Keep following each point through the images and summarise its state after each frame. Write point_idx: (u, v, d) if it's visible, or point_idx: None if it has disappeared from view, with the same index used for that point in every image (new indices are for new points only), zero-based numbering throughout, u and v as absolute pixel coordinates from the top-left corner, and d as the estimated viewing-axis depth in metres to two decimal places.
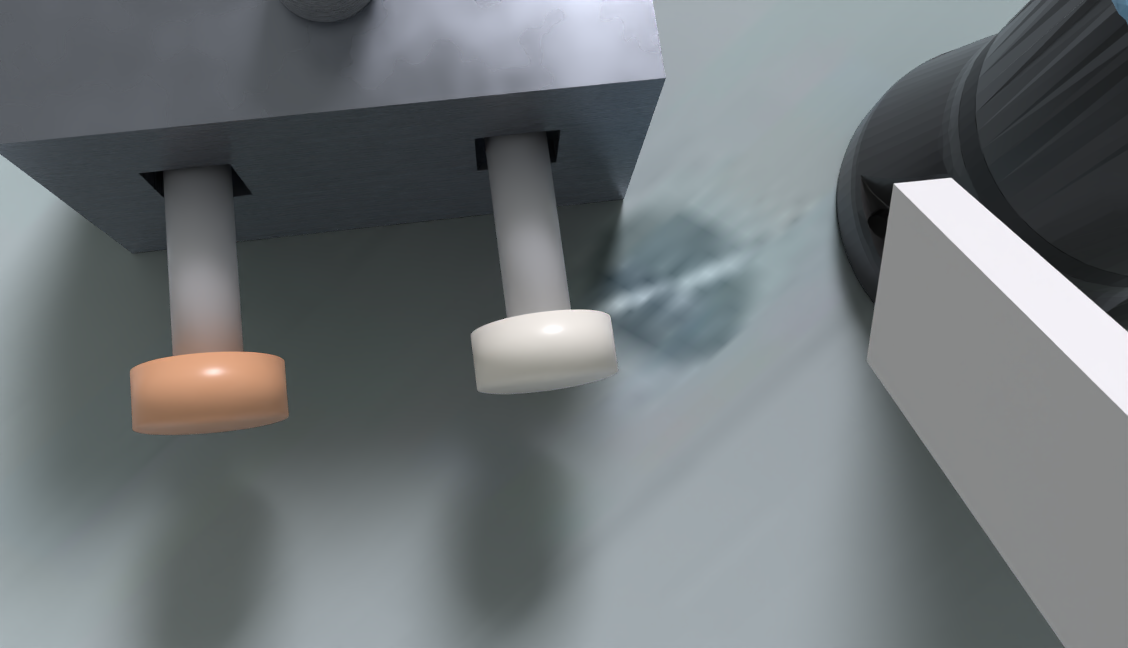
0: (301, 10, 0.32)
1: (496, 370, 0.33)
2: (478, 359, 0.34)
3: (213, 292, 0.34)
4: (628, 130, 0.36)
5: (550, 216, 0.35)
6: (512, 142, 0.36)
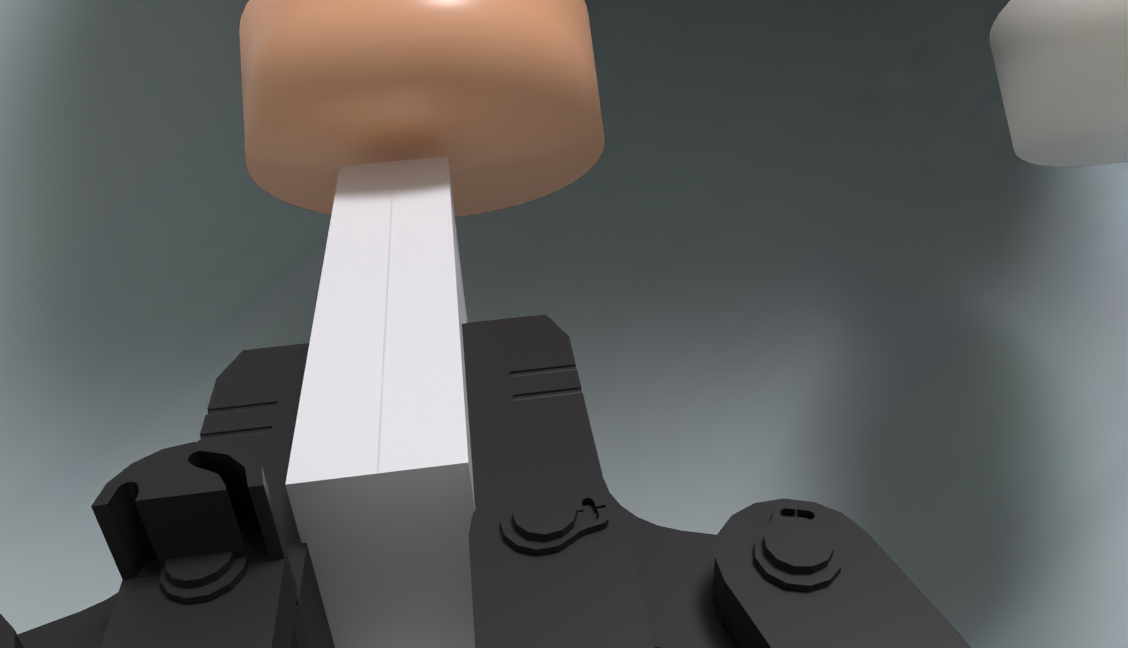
0: None
1: None
2: (1067, 32, 0.14)
3: None
4: None
5: None
6: None
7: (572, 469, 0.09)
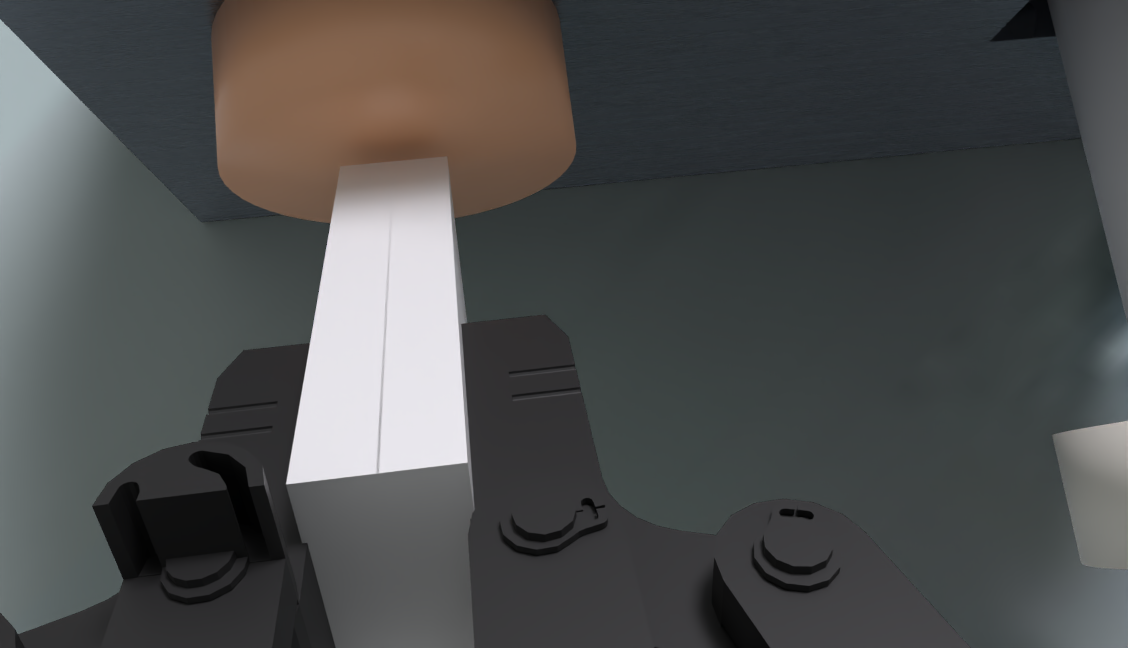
0: None
1: None
2: None
3: None
4: None
5: None
6: None
7: (571, 469, 0.09)
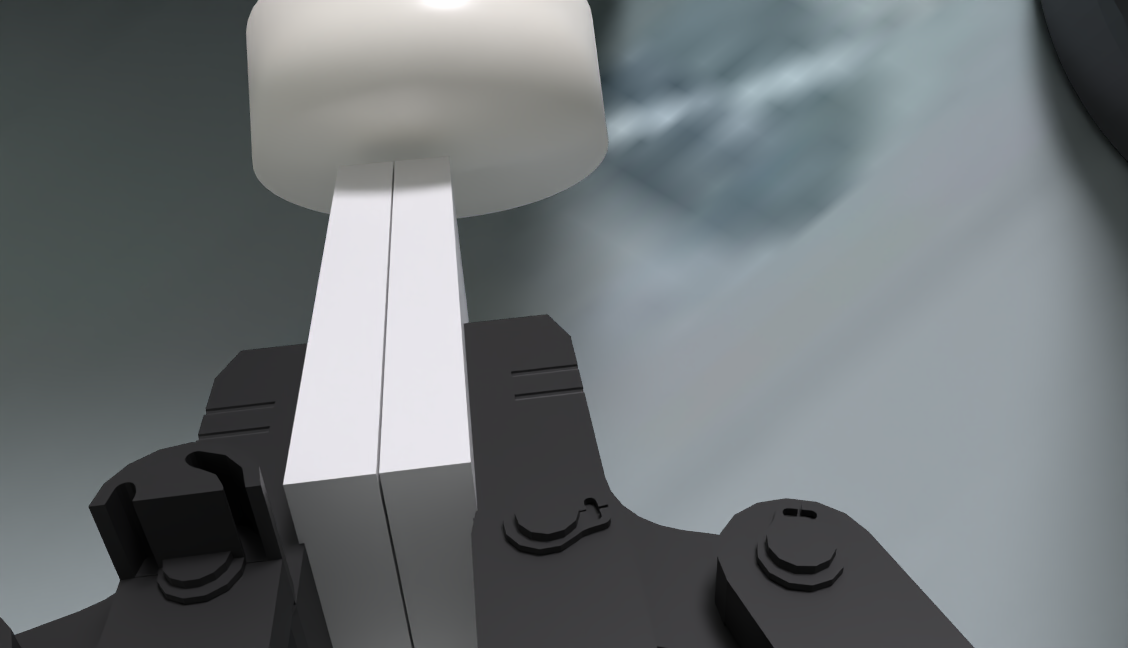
0: None
1: (281, 100, 0.12)
2: (251, 91, 0.13)
3: None
4: None
5: None
6: None
7: (574, 469, 0.09)
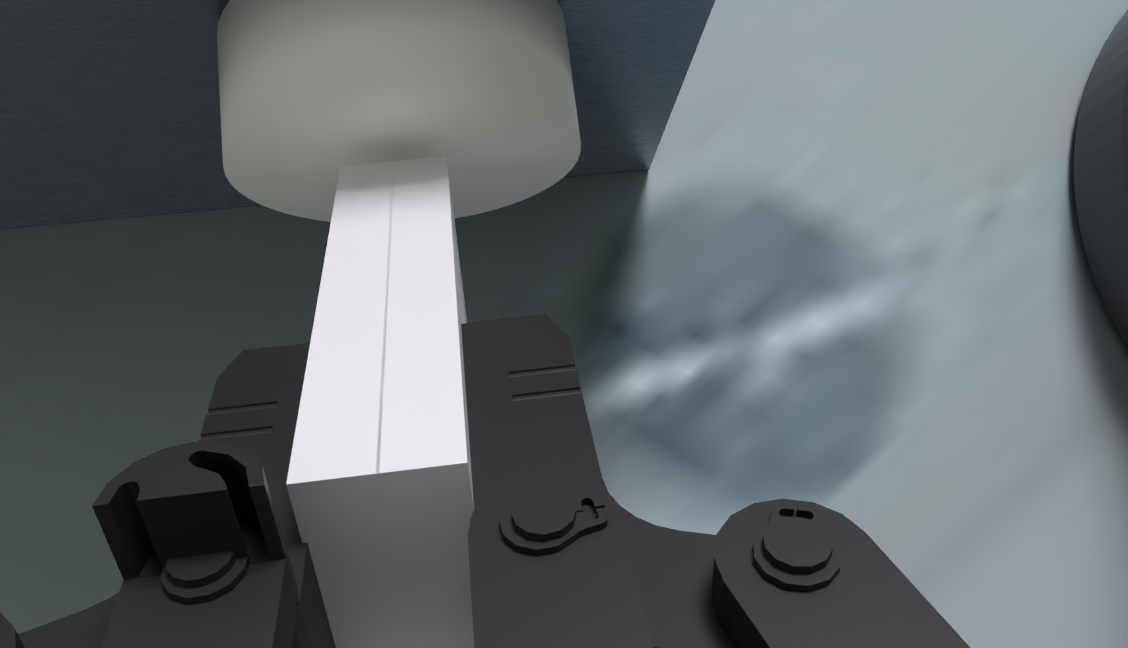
0: None
1: (249, 104, 0.12)
2: (222, 95, 0.13)
3: None
4: None
5: None
6: None
7: (571, 469, 0.09)
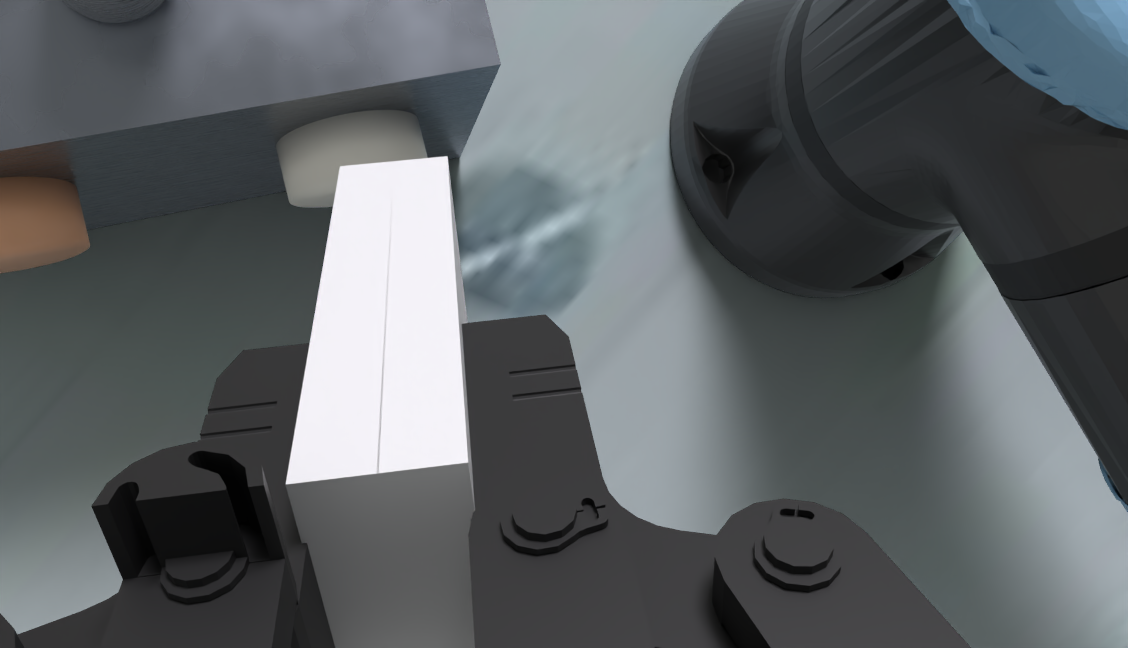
0: (83, 10, 0.28)
1: (306, 177, 0.33)
2: (286, 169, 0.33)
3: None
4: (463, 106, 0.35)
5: None
6: None
7: (572, 469, 0.09)
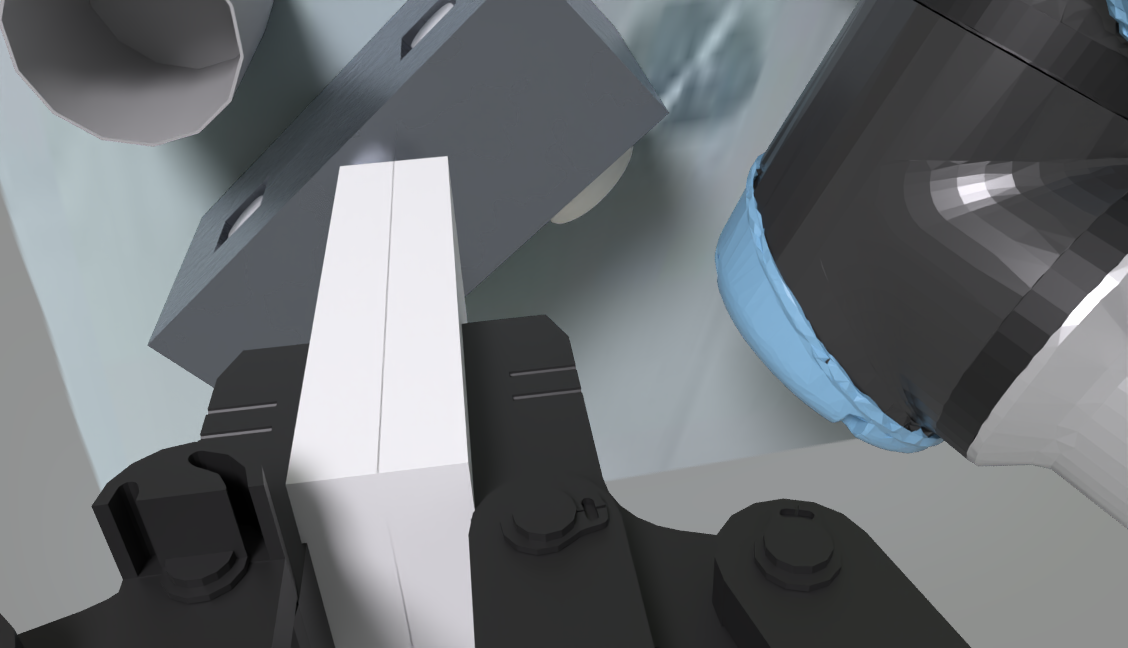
0: None
1: (560, 218, 0.43)
2: None
3: None
4: None
5: None
6: None
7: (571, 469, 0.09)
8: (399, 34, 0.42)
